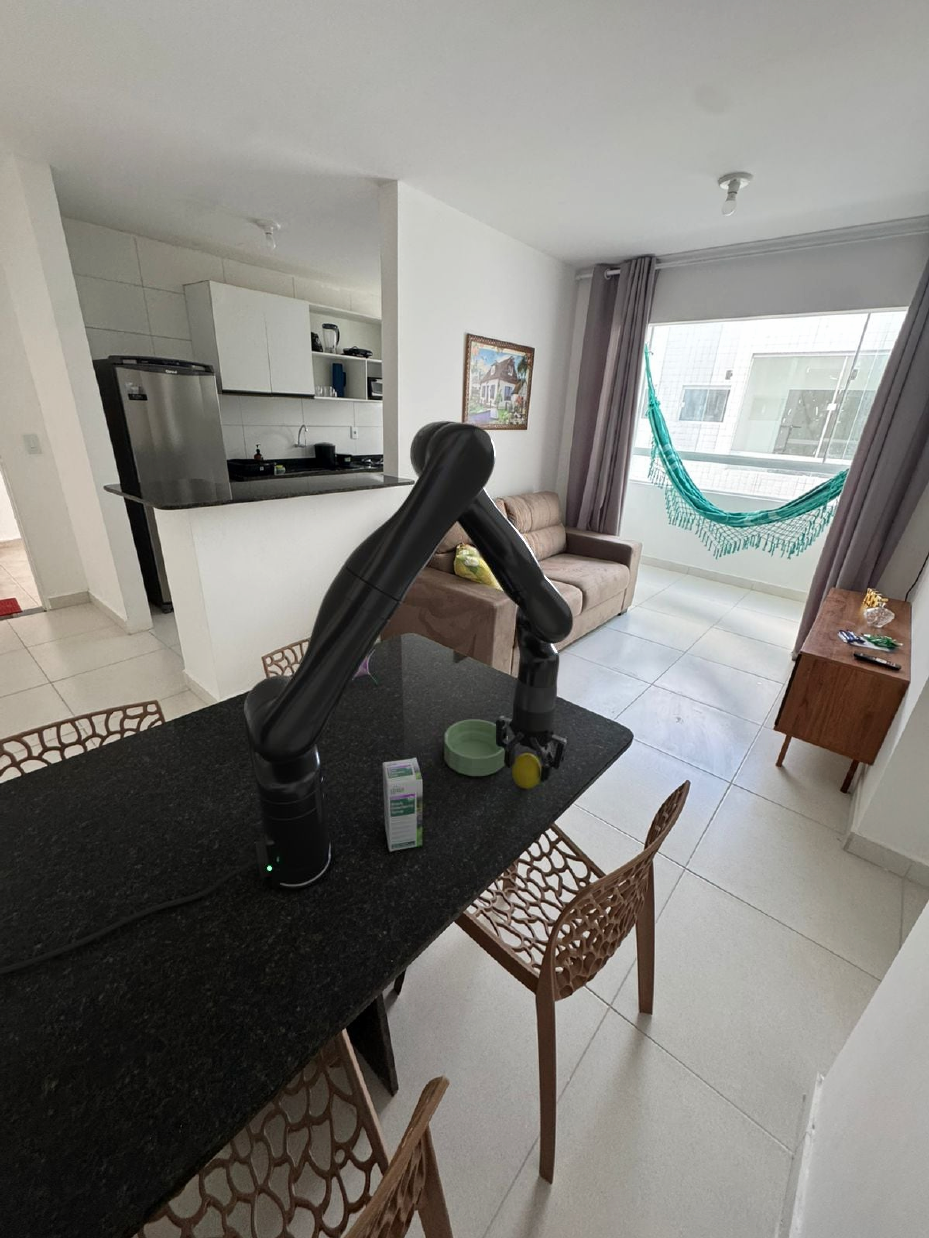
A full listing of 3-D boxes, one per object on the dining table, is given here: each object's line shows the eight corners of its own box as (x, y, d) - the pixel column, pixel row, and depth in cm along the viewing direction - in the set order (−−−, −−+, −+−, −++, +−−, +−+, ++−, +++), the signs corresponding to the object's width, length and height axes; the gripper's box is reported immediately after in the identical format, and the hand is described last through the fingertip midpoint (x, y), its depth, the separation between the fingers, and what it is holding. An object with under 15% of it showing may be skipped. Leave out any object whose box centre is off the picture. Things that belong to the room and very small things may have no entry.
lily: (374, 671, 142) (356, 644, 138) (401, 670, 134) (382, 641, 130) (346, 701, 134) (325, 673, 131) (372, 702, 126) (351, 672, 123)
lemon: (538, 779, 103) (542, 746, 100) (539, 798, 98) (543, 765, 95) (511, 776, 103) (514, 744, 100) (510, 795, 98) (513, 762, 95)
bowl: (460, 785, 100) (461, 765, 98) (434, 746, 111) (434, 727, 109) (517, 768, 106) (519, 748, 104) (487, 732, 117) (489, 714, 115)
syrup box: (388, 852, 85) (387, 784, 79) (384, 826, 90) (382, 760, 84) (422, 846, 87) (423, 779, 81) (416, 820, 92) (416, 755, 86)
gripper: (490, 696, 93) (484, 769, 99) (565, 722, 86) (554, 798, 93) (508, 679, 99) (502, 749, 105) (579, 702, 92) (568, 775, 99)
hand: (526, 772), depth 99 cm, fingers open, 6 cm apart
